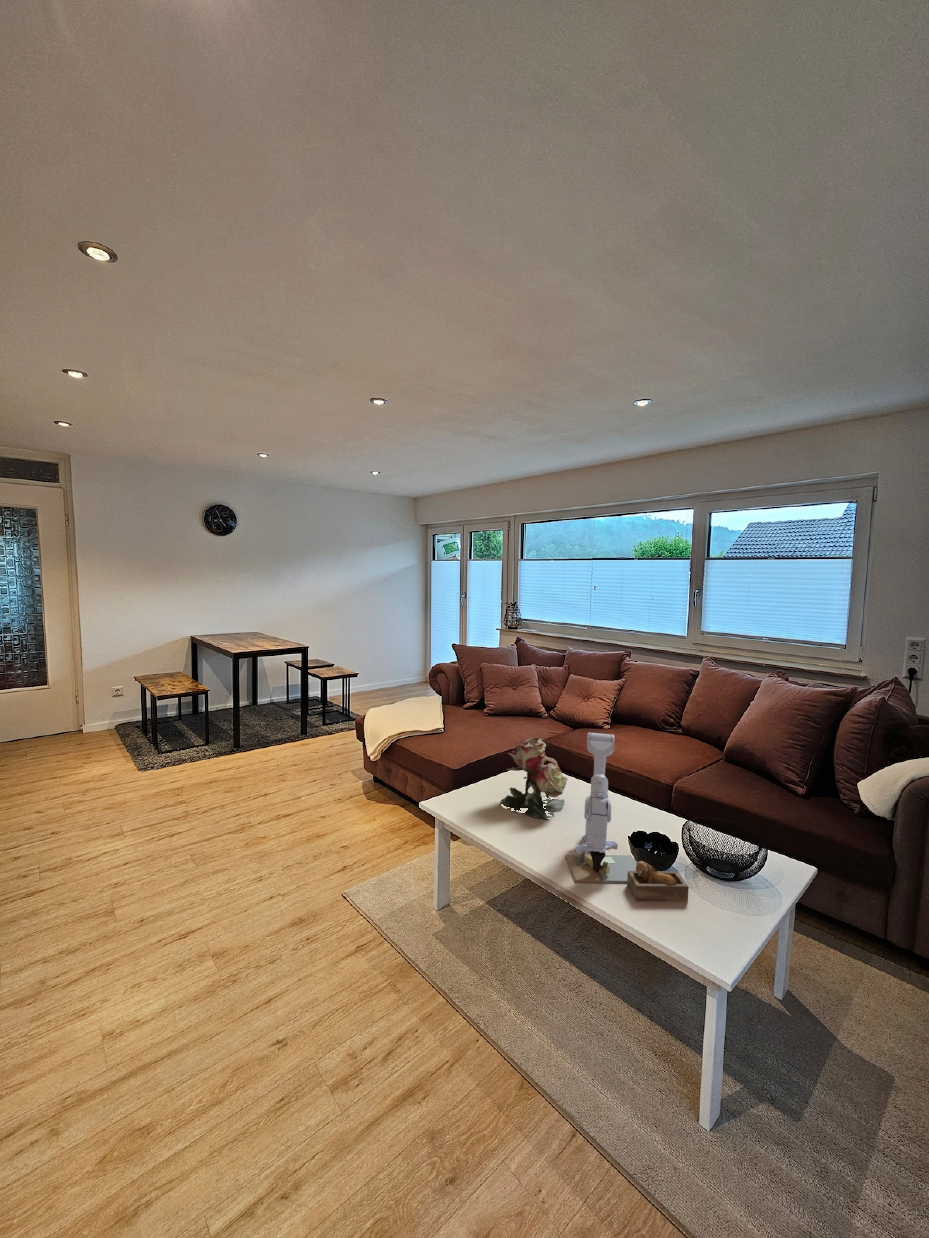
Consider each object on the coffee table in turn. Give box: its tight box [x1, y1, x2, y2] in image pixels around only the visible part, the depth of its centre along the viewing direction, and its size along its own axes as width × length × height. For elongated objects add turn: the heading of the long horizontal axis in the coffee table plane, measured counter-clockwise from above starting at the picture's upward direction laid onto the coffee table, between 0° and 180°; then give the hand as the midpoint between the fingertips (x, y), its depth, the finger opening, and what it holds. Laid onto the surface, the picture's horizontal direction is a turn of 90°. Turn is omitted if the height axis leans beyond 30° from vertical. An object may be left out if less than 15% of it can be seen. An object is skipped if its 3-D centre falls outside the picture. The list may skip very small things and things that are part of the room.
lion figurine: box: [636, 860, 677, 902], centre depth 165 cm, size 15×5×9 cm, turn 66°
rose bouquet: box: [500, 736, 568, 821], centre depth 228 cm, size 26×29×30 cm
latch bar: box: [584, 853, 610, 875], centre depth 176 cm, size 10×2×3 cm, turn 36°
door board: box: [564, 852, 637, 884], centre depth 178 cm, size 16×24×4 cm, turn 91°
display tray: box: [626, 870, 690, 903], centre depth 165 cm, size 8×16×5 cm, turn 91°
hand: (596, 870), depth 174 cm, fingers closed
